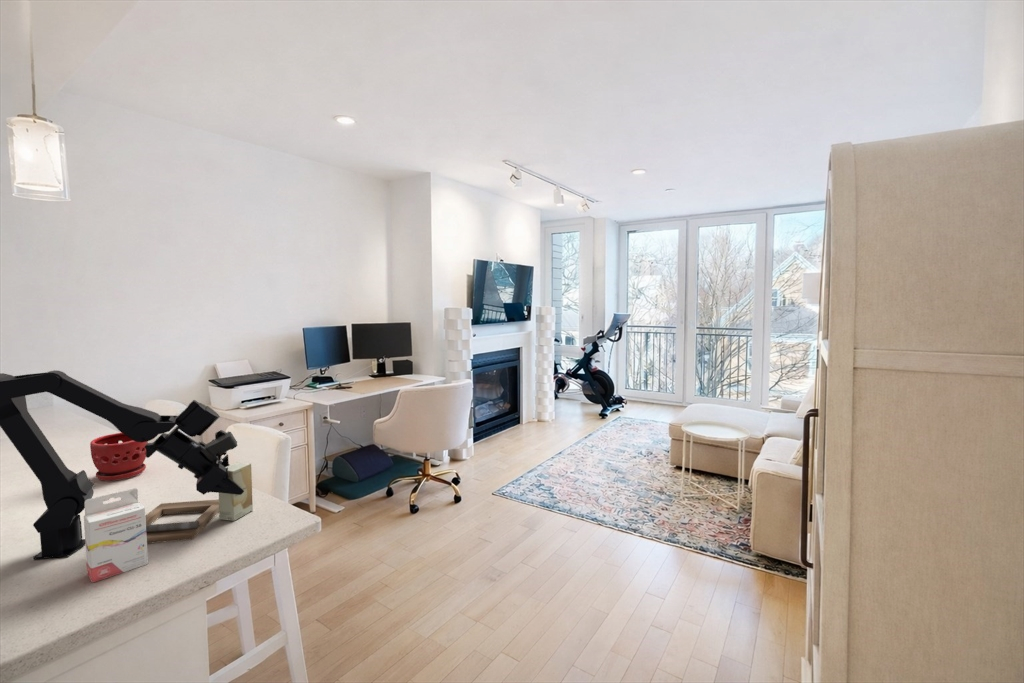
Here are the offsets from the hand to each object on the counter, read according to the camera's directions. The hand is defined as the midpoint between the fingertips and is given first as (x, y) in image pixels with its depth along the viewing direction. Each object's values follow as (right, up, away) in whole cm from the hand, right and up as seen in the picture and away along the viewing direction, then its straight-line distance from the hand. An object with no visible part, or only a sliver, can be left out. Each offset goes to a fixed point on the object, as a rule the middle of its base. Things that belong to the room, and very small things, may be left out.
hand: (242, 487), depth 113 cm
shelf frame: (-13, -7, -5) cm, 15 cm away
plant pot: (-52, -5, +26) cm, 58 cm away
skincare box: (-1, -7, 0) cm, 7 cm away
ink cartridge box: (-11, -9, -23) cm, 27 cm away
